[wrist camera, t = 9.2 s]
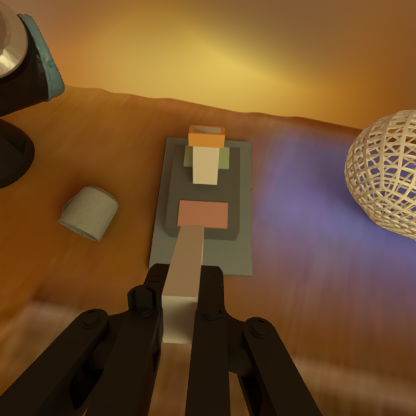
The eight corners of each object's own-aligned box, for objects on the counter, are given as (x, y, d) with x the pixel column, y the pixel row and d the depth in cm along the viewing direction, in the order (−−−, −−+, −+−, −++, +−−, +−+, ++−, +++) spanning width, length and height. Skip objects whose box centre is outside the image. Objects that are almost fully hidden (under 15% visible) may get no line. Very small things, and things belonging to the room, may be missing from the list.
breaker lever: (220, 186, 42) (224, 135, 36) (189, 185, 42) (188, 133, 36) (220, 176, 45) (224, 126, 39) (190, 175, 45) (190, 124, 39)
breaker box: (250, 276, 46) (259, 270, 38) (150, 270, 46) (140, 263, 38) (249, 145, 56) (256, 121, 49) (167, 141, 56) (162, 116, 49)
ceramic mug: (126, 207, 50) (113, 190, 43) (105, 245, 47) (87, 233, 40) (80, 190, 52) (59, 170, 45) (56, 226, 49) (31, 211, 42)
